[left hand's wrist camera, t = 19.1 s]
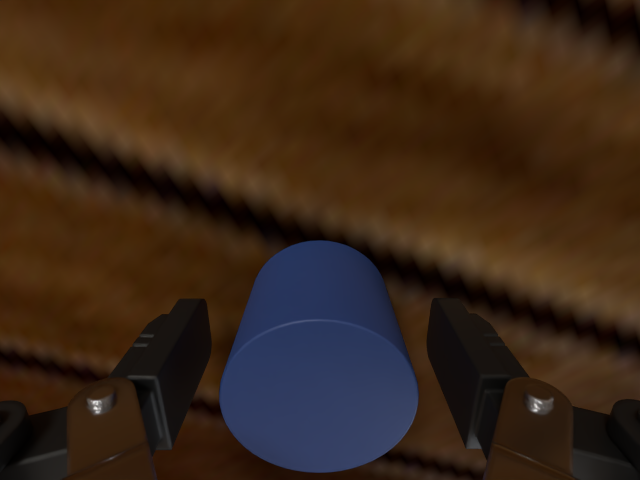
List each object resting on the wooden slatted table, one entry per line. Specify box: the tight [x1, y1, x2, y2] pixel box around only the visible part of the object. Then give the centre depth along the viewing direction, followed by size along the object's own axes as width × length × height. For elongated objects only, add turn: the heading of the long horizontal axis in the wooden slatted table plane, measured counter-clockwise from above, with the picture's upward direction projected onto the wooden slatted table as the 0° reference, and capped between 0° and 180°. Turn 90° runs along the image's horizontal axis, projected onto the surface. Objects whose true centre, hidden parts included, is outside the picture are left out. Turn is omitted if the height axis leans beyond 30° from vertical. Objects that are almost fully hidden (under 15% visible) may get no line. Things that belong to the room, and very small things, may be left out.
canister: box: [219, 241, 419, 473], centre depth 11 cm, size 5×5×5 cm
